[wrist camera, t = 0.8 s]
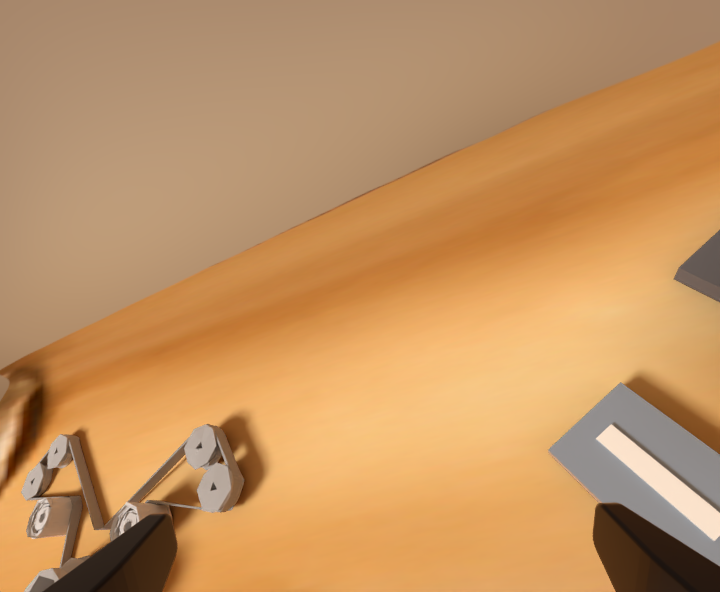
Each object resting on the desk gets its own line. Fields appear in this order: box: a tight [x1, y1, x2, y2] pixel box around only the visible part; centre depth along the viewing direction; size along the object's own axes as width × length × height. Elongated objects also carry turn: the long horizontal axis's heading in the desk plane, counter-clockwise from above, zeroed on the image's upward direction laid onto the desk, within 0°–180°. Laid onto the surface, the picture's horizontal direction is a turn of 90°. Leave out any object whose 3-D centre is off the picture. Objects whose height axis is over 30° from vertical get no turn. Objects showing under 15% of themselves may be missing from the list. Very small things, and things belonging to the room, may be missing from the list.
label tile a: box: [548, 382, 720, 566], centre depth 17 cm, size 7×5×1 cm
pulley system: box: [21, 424, 245, 592], centre depth 29 cm, size 27×5×15 cm
